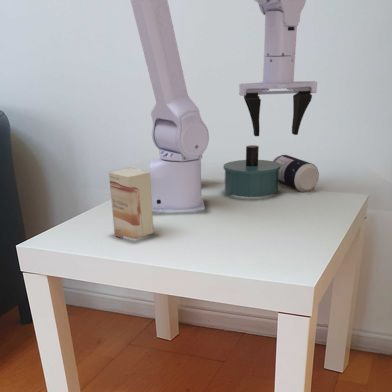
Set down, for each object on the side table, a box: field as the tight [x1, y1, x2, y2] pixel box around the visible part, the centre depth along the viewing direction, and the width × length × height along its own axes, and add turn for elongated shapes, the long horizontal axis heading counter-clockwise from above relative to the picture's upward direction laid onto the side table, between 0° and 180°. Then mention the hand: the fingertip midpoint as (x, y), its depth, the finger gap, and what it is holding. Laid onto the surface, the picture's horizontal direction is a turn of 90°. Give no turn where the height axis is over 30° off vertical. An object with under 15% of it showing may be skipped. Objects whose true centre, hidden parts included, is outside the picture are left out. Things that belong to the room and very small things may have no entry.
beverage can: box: [272, 154, 320, 194], centre depth 108 cm, size 6×6×12 cm
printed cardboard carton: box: [108, 166, 155, 240], centre depth 82 cm, size 5×4×10 cm
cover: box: [222, 144, 281, 174], centre depth 103 cm, size 11×11×5 cm
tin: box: [224, 170, 279, 198], centre depth 105 cm, size 10×10×5 cm
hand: (275, 134), depth 104 cm, fingers open, 7 cm apart
